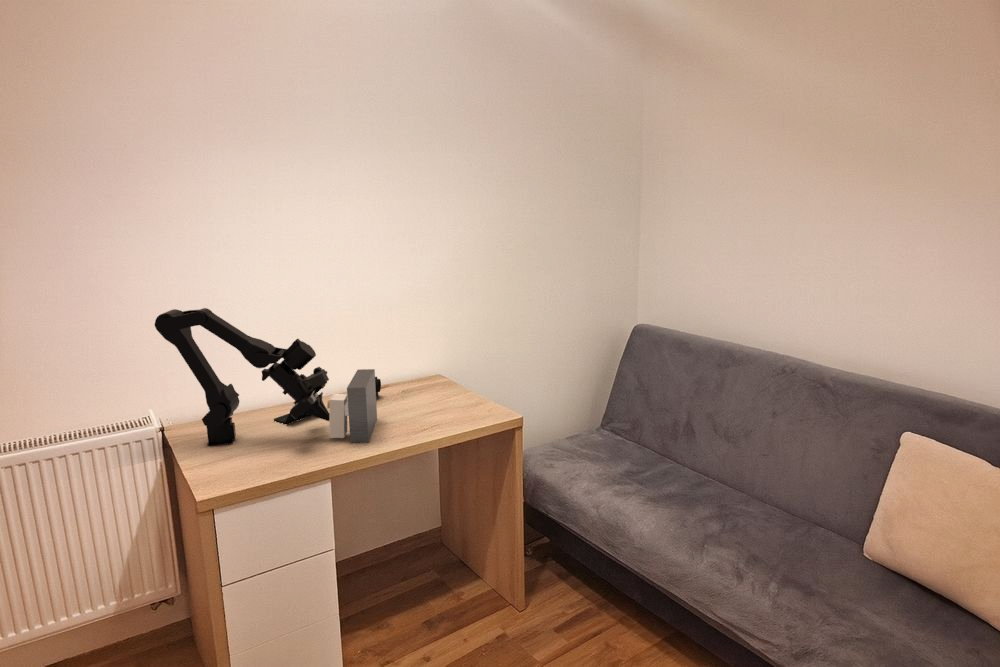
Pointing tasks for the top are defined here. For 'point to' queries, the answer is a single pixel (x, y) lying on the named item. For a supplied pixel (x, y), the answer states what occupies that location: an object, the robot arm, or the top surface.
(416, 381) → the top surface
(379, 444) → the top surface
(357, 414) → the rail board
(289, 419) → the handheld gaming console
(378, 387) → the digital camera
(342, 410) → the block
